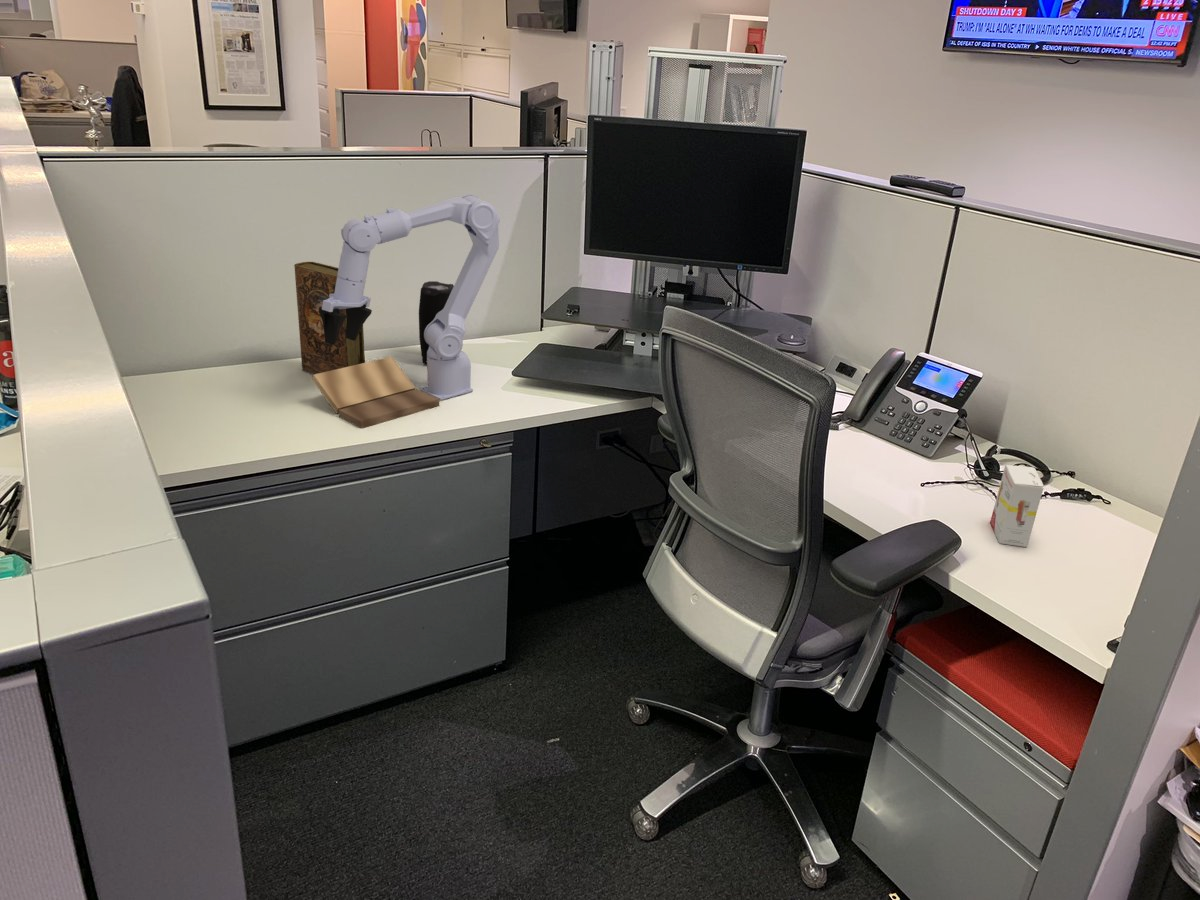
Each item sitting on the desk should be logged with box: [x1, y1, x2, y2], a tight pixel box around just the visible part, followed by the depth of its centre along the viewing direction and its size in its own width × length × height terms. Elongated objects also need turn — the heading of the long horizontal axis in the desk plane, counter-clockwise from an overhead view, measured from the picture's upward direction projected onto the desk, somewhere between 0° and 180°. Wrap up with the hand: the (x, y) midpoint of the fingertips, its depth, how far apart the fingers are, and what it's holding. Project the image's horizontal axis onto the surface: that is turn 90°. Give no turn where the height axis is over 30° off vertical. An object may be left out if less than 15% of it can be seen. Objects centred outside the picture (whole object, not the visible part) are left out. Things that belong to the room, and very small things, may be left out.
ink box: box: [989, 464, 1044, 548], centre depth 158 cm, size 9×5×12 cm, turn 168°
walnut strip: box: [338, 388, 440, 429], centre depth 194 cm, size 20×8×2 cm, turn 138°
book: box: [293, 261, 366, 375], centre depth 208 cm, size 16×6×25 cm, turn 58°
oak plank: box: [311, 356, 417, 414], centre depth 198 cm, size 20×10×2 cm
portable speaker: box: [418, 280, 455, 364], centre depth 221 cm, size 9×9×20 cm
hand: (340, 341), depth 192 cm, fingers open, 7 cm apart
